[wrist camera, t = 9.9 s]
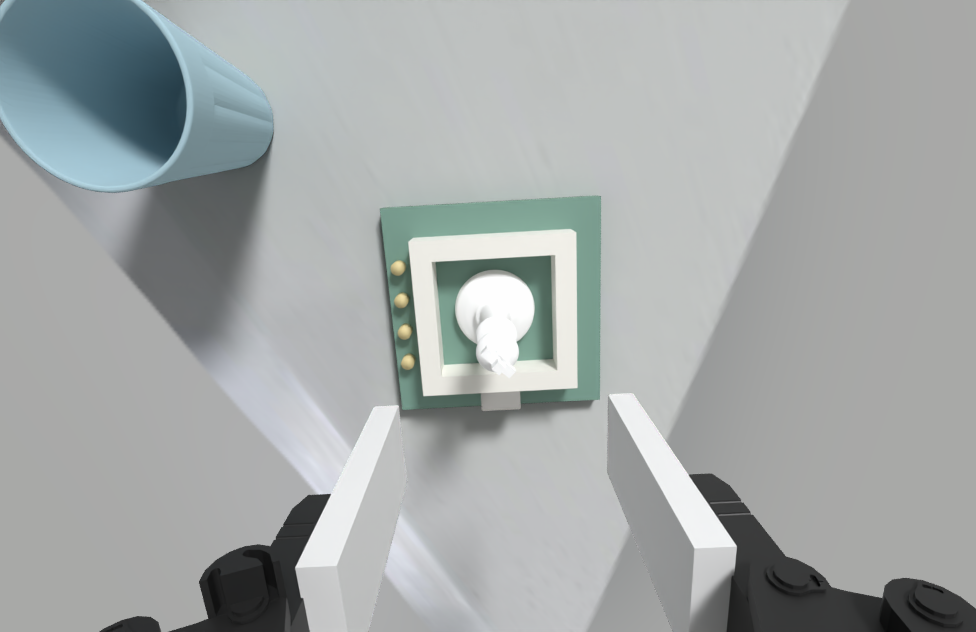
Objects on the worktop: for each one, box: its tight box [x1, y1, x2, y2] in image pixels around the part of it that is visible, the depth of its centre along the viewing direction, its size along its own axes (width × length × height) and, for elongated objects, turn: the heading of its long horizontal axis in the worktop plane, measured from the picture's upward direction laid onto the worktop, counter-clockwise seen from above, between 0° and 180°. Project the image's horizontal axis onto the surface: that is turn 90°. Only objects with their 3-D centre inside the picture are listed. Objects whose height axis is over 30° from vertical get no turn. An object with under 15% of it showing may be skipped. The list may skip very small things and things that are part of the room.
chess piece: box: [455, 270, 535, 378], centre depth 26 cm, size 5×5×10 cm
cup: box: [0, 0, 273, 193], centre depth 24 cm, size 8×8×10 cm
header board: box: [380, 196, 601, 411], centre depth 30 cm, size 13×13×3 cm
